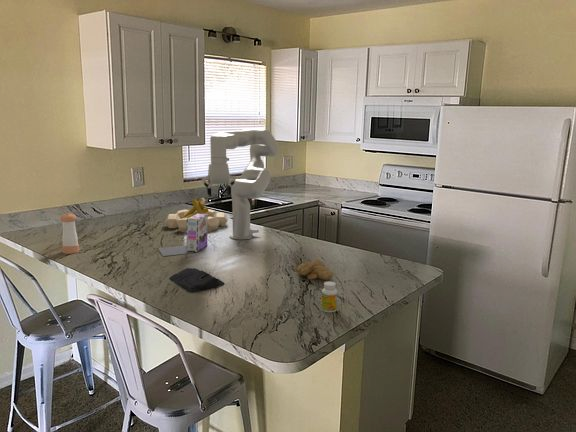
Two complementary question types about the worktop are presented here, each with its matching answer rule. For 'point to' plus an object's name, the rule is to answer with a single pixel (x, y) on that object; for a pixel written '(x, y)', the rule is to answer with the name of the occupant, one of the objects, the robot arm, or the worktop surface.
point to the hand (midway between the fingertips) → (219, 195)
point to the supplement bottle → (329, 297)
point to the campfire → (182, 215)
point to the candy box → (197, 232)
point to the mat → (174, 251)
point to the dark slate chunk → (195, 280)
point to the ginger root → (314, 270)
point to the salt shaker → (69, 234)
